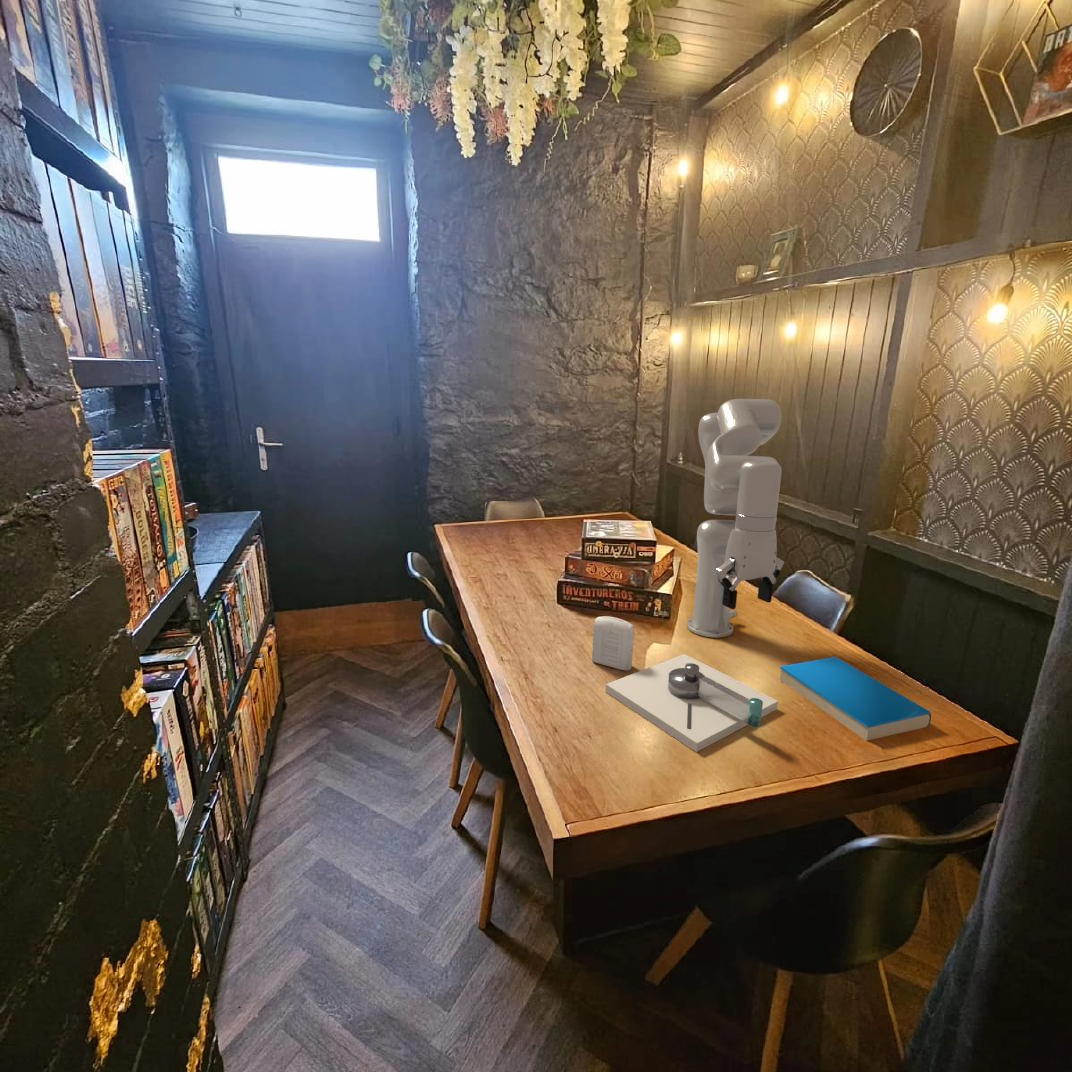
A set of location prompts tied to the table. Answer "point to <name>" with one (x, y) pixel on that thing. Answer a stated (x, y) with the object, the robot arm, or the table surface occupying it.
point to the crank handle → (714, 694)
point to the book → (855, 698)
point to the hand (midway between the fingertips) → (746, 603)
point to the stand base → (683, 703)
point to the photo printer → (613, 642)
